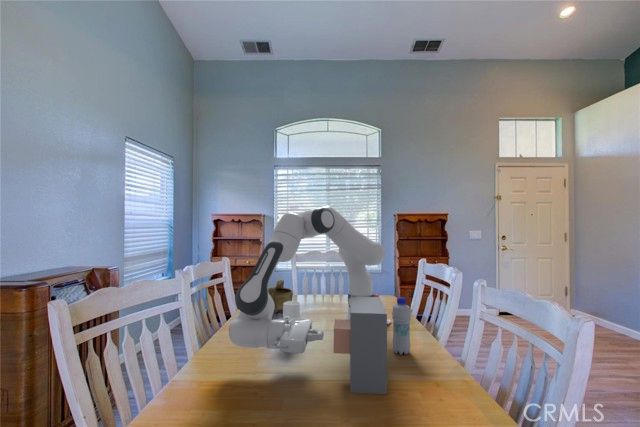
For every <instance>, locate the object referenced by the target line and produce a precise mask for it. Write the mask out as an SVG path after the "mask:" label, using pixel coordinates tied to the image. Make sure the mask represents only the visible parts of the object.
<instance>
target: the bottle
mask: <svg viewBox="0 0 640 427" xmlns="http://www.w3.org/2000/svg"><path fill="white" fill-rule="evenodd" d="M411 314H412V313H411V306H409V305H408V304H407V299H406V298H405V297H403V296H400V297H397V298H396V304H394V305H393V306H392V312H391V316H392V320H393V321H392V334H393V335H392V350H393V351H394V353H395V354H398V353H399V355H400V356H401V355H403V354H404V355H405V354H406V355H408V354H409V353H410V351H411V338H410V337H411V336H410V335H411V330H410V329H411V328H410V327H411V325H410V324H411V317H412V316H411Z"/></svg>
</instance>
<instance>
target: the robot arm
mask: <svg viewBox="0 0 640 427" xmlns="http://www.w3.org/2000/svg"><path fill="white" fill-rule="evenodd" d="M320 235H326V236H327V237H328V238H329V240H331V241H332V242H333V244H335V245H336V246H337V247H338V255H339V257H340V259H341V260H342V261H343V263H344V266H345V268H346V271H347V278H348V293H347V303H348V304H347V305H348V306H347V312H346V314H347V315H346V319H345V320H350V296H358V297H380V294H377V293H373V287H374V286H373V285H374V284H373V280H374V279H373V276H372V274H370V272H369V271H368V269H367V267H366V266H378V265H380V264H382V262H383V261H384V259H385V248H384V246H383V245H382V244H380V243H378V242H376V241H373V240H372V239H370V238H369V237H368V236H366V235H364V234H363V233H361V232H360V231H358V230H357V229H356V228H355V227H354V225H352V224H351V223H350V222H348V220H347V219H346V218H345V217H344V216H343V215H342V214H341V213H340V212H339V211H337V210H336V209H334V207H331V206H329V205H324V206H320V207H317V208H312V209H307V210H305V211H303V212H300V213H295V212H287V213H284V214H283V215H282V216H281V217H280V219H279V220H278V222H277V224H276V226H275V228H274V229H273V231H272V233H271V236H270V237H269V241H268V243H267V244H266V246H265V247H264V249H263V250H262V252H261V254H260V256H259V258H258V259H257V262H256V263H255V264H254V265H255V266H254V267H253V269H252V271H251V273H250V275H249V276H248V277H247V279H245V280H244V281H243V282H242V284H240V286H239V287H238V289H237V290H236V293H235V296H234V301H235V303H234V304H235V306H236V308H237V309H238V310H239V311H240V312H239V313H238V314H237V316H236V317H235V318H234V319H233V320H231V322H230V324H229V328H228V334H229V338H230V341H231V343H232V344H233V345H234V346H235V347H240V348H245V349H246V348H247V349H258V348H265V349H267V350H268V349H270V350H280V351H281V352H284V353H290V354H303V353H305V351H306V348H307V345H308V343H310V342H312V343H313V342H315V341H323V340H324V336H325V333H324V331H322V330H317V329H314V328H313V321H312V320H311V319H309V318H292V319H290V317H288V316H286V317H283V316H282V317H280V318H277V319H273V317H274V314H275V312H274V309H275V305H274V301H273V299H272V297H271V296H270V295H269V293H268V287H269V283H270V281H271V279H272V277H273V274H274V272H275V271H276V270H275V269H276V268H277V265H278V264H279V263H285V262H289V261H291V260H293V258H294V257H295V255H296V254H297V251H298V249H299V246H300V244H301V241H302V240H303V239H308V238H309V239H310V238H314V237H317V236H320ZM387 324H388V325H390V324H392V320H391V319H390V318H388V317H387Z"/></svg>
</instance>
